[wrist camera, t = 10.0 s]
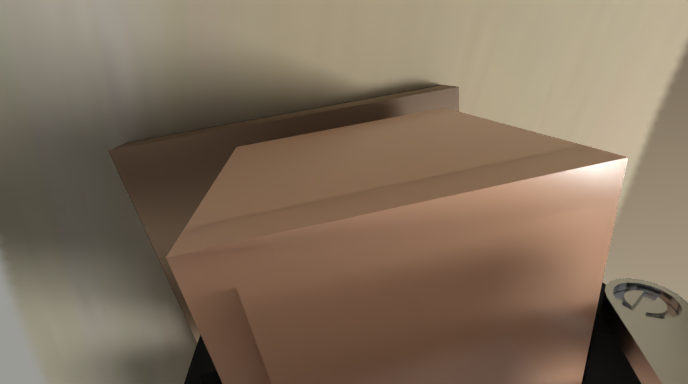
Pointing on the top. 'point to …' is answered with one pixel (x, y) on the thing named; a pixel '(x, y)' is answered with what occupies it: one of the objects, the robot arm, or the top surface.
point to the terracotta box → (402, 255)
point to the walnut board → (215, 150)
